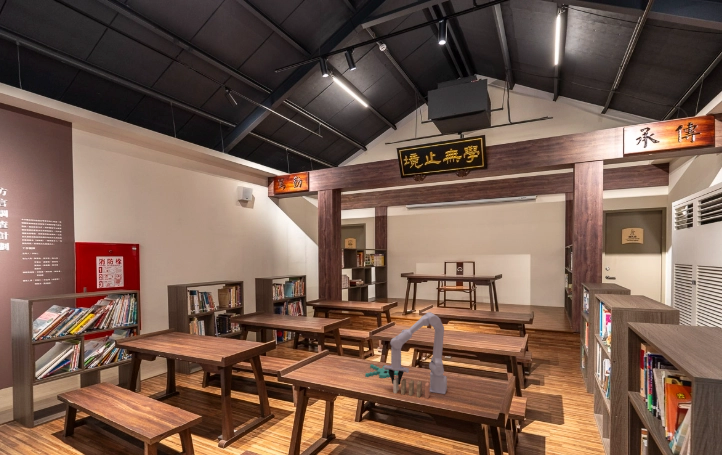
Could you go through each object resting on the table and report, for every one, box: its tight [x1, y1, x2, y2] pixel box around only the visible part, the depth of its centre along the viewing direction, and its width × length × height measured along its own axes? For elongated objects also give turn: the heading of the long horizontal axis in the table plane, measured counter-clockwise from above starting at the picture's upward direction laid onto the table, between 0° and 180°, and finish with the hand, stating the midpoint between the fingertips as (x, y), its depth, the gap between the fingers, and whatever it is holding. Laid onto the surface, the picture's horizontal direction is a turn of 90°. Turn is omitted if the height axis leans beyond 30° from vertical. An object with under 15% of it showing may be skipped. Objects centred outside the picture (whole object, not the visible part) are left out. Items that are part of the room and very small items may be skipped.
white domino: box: [392, 377, 400, 394], centre depth 205 cm, size 2×5×7 cm, turn 158°
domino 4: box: [424, 381, 431, 400], centre depth 198 cm, size 2×5×7 cm, turn 158°
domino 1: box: [400, 378, 407, 396], centre depth 203 cm, size 2×5×7 cm, turn 158°
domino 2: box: [408, 379, 415, 397], centre depth 201 cm, size 2×5×7 cm, turn 158°
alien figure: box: [365, 364, 399, 379], centre depth 236 cm, size 20×2×20 cm
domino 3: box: [416, 380, 423, 398], centre depth 200 cm, size 2×5×7 cm, turn 158°
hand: (396, 383), depth 205 cm, fingers open, 3 cm apart
